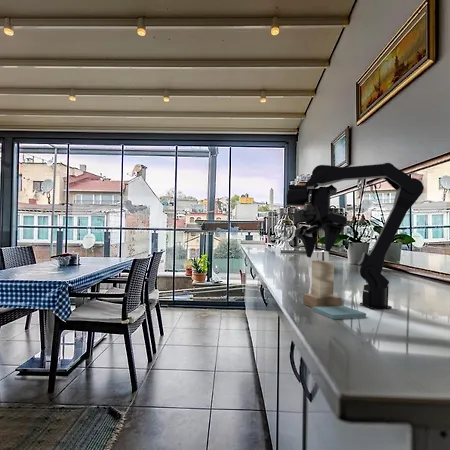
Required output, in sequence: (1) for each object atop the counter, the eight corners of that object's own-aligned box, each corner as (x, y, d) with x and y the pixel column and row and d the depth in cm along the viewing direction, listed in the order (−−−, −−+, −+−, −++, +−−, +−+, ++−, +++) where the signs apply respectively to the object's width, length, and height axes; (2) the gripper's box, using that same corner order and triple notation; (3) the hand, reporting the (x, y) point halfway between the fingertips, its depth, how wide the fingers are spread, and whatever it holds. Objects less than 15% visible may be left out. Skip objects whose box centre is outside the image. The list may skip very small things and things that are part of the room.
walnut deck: (326, 302, 105) (326, 293, 105) (340, 308, 99) (341, 297, 99) (303, 303, 103) (303, 293, 103) (316, 309, 96) (316, 298, 96)
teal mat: (344, 309, 97) (344, 305, 97) (366, 317, 89) (366, 313, 89) (312, 310, 94) (313, 306, 94) (332, 319, 86) (332, 315, 86)
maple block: (324, 294, 104) (325, 260, 104) (333, 296, 99) (334, 262, 100) (311, 294, 102) (312, 260, 103) (319, 297, 98) (320, 262, 98)
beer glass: (330, 294, 120) (331, 251, 121) (324, 297, 114) (325, 252, 115) (310, 292, 124) (312, 250, 124) (304, 294, 118) (305, 250, 118)
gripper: (282, 208, 113) (278, 254, 107) (315, 187, 96) (312, 241, 91) (311, 217, 116) (308, 262, 111) (348, 198, 99) (347, 250, 94)
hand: (317, 254), depth 101 cm, fingers open, 9 cm apart
